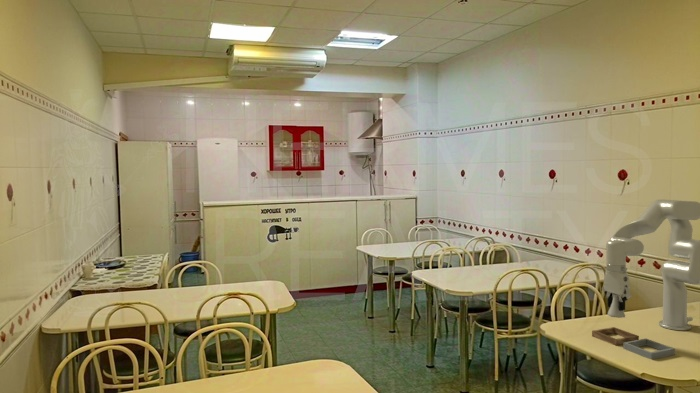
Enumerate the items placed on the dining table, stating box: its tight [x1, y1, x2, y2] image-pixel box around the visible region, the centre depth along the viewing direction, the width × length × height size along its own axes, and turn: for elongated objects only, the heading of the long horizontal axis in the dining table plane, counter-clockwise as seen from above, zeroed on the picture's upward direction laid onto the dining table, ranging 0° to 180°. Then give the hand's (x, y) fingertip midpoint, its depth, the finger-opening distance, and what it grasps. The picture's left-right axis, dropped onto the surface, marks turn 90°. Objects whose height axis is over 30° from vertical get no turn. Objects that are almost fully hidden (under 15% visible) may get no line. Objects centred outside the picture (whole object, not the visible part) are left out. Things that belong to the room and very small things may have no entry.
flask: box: [607, 293, 626, 319], centre depth 219 cm, size 7×7×10 cm
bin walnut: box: [591, 326, 640, 346], centre depth 220 cm, size 13×13×2 cm
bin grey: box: [622, 338, 676, 360], centre depth 205 cm, size 13×13×2 cm
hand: (616, 308), depth 220 cm, fingers closed on flask, 5 cm apart
